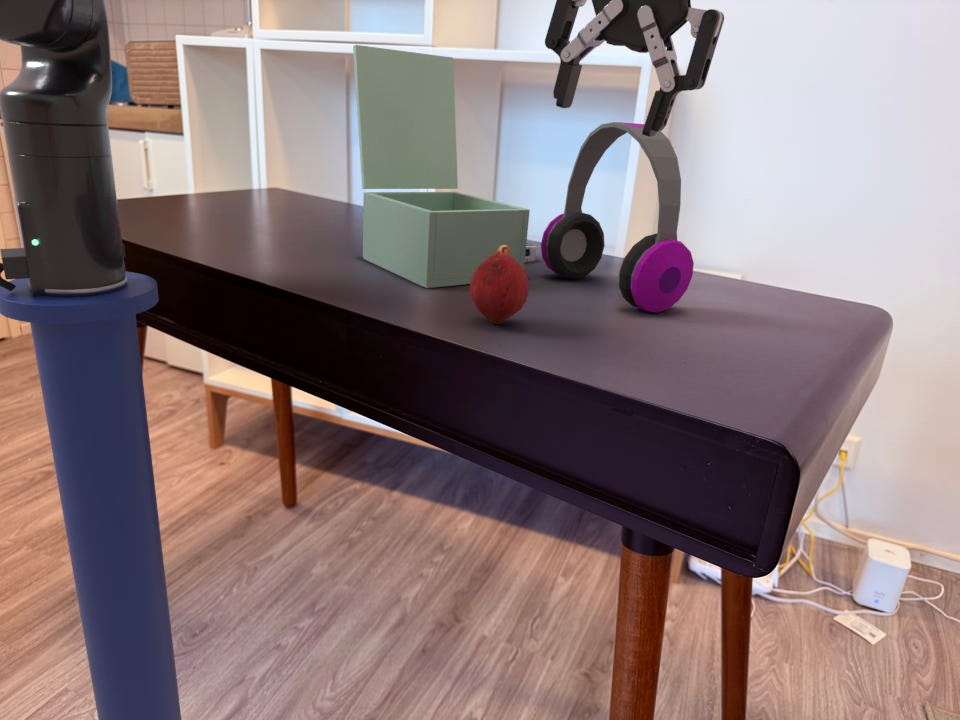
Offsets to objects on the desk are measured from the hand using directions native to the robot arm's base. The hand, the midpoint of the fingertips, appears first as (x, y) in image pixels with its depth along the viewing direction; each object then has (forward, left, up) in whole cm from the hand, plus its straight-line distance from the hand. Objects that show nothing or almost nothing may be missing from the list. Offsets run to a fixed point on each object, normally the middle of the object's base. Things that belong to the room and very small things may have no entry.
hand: (605, 120), depth 60 cm
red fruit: (-6, +5, -20) cm, 22 cm away
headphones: (+15, +10, -20) cm, 27 cm away
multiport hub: (+16, +33, -20) cm, 42 cm away
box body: (+2, +28, -20) cm, 35 cm away
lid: (+2, +38, -2) cm, 38 cm away
